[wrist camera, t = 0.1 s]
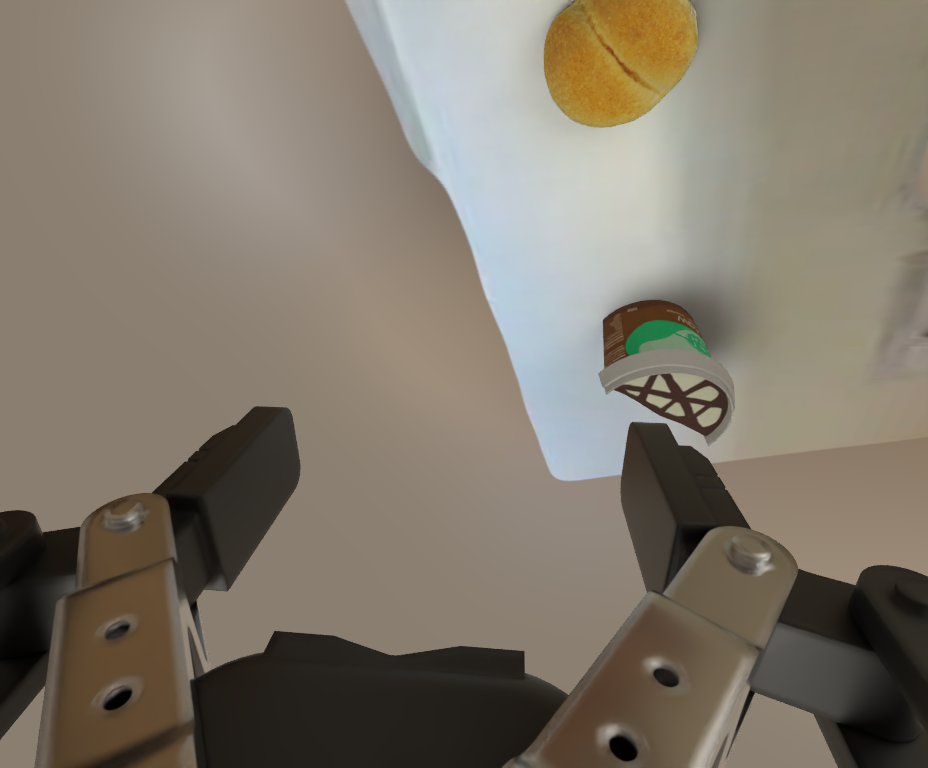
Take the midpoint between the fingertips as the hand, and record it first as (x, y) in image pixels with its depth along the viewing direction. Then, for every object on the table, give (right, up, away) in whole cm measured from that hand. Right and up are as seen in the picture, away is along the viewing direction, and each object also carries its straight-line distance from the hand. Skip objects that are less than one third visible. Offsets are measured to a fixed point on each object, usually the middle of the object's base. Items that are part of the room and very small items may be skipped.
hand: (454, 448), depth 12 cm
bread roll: (+10, +23, +20) cm, 32 cm away
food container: (+19, +8, +35) cm, 41 cm away
